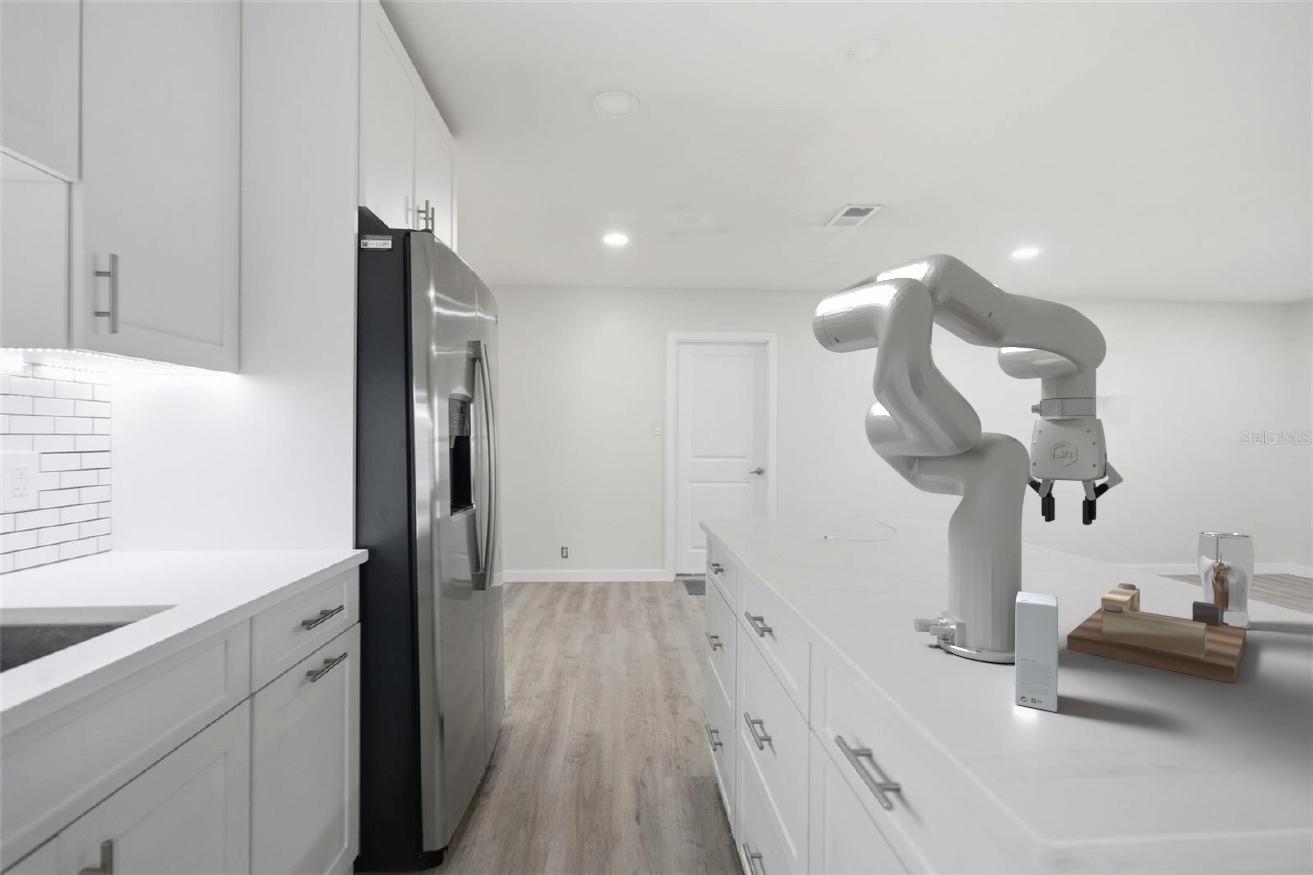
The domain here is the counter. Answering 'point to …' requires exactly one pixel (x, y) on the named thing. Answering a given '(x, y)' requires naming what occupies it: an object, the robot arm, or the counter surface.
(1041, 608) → the skincare box
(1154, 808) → the counter surface
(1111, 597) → the hinged leg
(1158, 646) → the stool frame
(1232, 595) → the beer glass
